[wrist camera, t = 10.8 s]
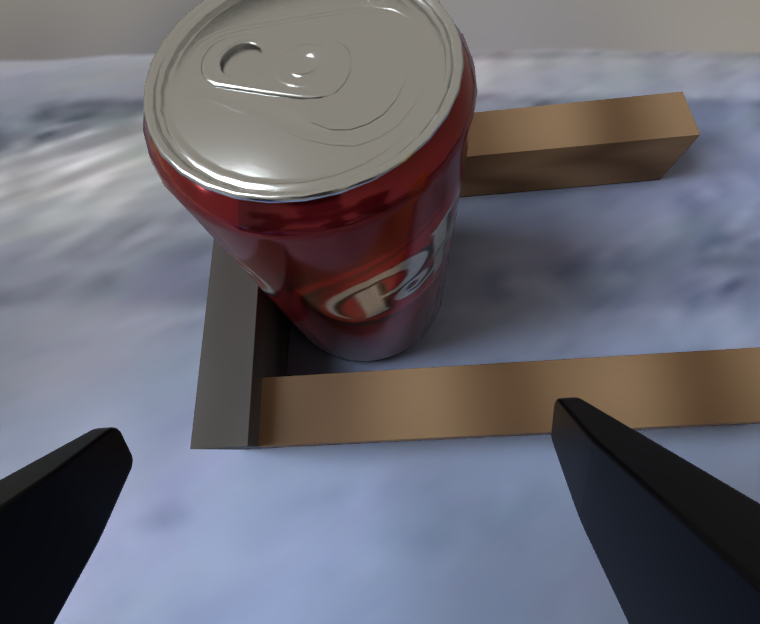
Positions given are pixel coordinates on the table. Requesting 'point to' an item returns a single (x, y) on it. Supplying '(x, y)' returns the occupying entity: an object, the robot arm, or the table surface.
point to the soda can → (321, 154)
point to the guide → (485, 381)
